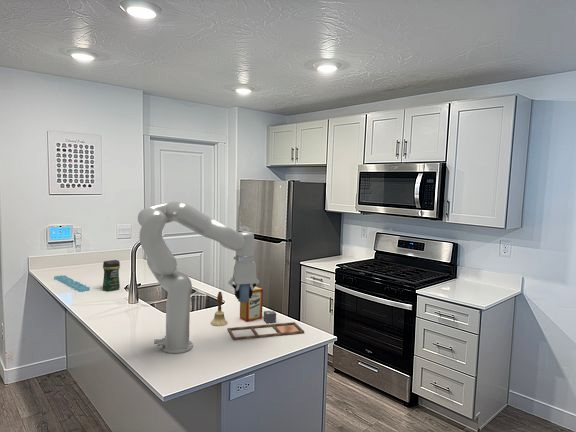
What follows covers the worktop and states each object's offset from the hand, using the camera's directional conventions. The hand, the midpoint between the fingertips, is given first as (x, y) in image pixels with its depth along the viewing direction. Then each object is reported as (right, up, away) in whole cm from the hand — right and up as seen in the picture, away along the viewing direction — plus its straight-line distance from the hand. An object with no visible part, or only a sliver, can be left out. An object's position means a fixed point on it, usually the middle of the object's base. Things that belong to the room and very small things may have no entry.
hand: (243, 297), depth 185 cm
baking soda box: (+1, -16, +23) cm, 28 cm away
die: (+11, -16, +19) cm, 28 cm away
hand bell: (-14, -16, +15) cm, 26 cm away
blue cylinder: (0, -2, 0) cm, 2 cm away
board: (+10, -17, +5) cm, 20 cm away
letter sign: (-121, -8, +77) cm, 143 cm away
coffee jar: (-91, -9, +68) cm, 114 cm away
